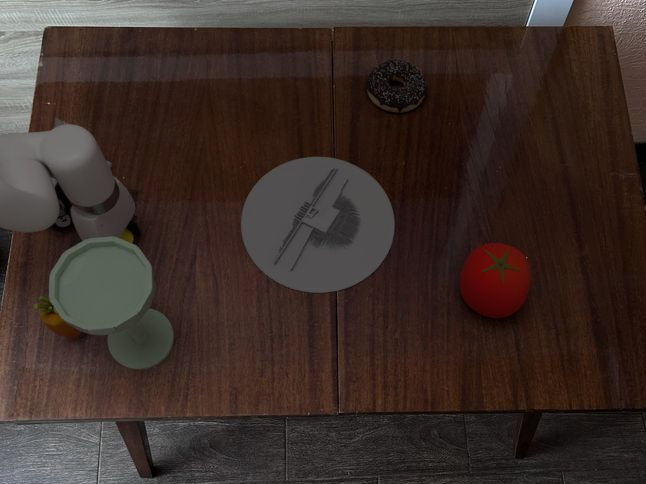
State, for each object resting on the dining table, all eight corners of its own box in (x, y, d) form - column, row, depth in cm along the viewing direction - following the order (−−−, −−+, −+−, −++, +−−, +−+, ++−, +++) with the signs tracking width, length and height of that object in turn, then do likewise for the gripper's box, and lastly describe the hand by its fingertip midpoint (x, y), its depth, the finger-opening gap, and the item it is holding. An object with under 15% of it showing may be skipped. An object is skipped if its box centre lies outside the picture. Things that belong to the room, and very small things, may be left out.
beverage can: (52, 238, 124) (24, 202, 112) (41, 208, 126) (13, 170, 114) (88, 225, 125) (64, 189, 114) (77, 196, 127) (53, 157, 115)
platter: (35, 311, 97) (29, 305, 95) (87, 230, 101) (82, 222, 99) (124, 350, 96) (119, 344, 93) (173, 266, 100) (169, 259, 98)
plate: (292, 134, 133) (292, 130, 132) (421, 200, 129) (422, 197, 128) (211, 246, 124) (210, 243, 123) (346, 320, 121) (346, 318, 120)
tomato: (440, 278, 124) (455, 240, 111) (496, 255, 126) (517, 216, 113) (473, 338, 121) (492, 307, 107) (529, 314, 123) (555, 281, 109)
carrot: (90, 319, 119) (59, 282, 105) (92, 346, 117) (61, 312, 103) (61, 323, 119) (26, 287, 104) (62, 350, 117) (26, 317, 103)
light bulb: (134, 231, 125) (134, 228, 121) (130, 264, 124) (130, 262, 121) (114, 228, 123) (114, 225, 120) (110, 261, 123) (110, 259, 120)
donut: (377, 62, 139) (378, 47, 136) (433, 80, 138) (436, 66, 135) (358, 105, 136) (359, 91, 132) (416, 123, 135) (418, 110, 131)
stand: (96, 354, 117) (51, 306, 97) (129, 300, 120) (91, 242, 101) (154, 380, 116) (120, 337, 96) (185, 324, 119) (159, 271, 100)
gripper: (100, 139, 109) (129, 200, 126) (41, 227, 104) (80, 278, 121) (142, 156, 108) (166, 216, 126) (85, 246, 103) (118, 295, 120)
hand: (124, 246), depth 123 cm, fingers closed on light bulb, 5 cm apart
